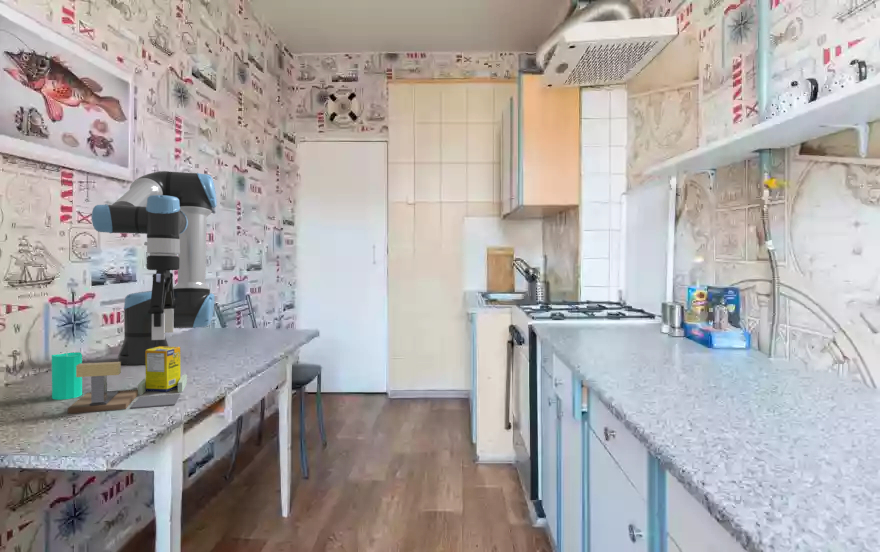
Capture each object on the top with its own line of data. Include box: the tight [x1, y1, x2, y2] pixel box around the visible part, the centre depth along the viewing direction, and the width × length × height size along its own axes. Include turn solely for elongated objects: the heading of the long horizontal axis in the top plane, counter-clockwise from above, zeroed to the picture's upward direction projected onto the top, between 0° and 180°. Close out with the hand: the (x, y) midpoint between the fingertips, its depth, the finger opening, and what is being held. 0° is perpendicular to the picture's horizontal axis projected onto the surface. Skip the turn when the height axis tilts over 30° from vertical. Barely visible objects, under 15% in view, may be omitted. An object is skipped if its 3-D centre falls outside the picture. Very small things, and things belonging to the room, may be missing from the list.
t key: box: [76, 361, 122, 403], centre depth 111 cm, size 2×8×9 cm, turn 110°
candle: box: [51, 351, 83, 401], centre depth 121 cm, size 6×6×12 cm
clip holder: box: [137, 374, 188, 396], centre depth 129 cm, size 9×10×2 cm
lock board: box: [67, 388, 139, 414], centre depth 116 cm, size 13×11×2 cm
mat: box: [130, 393, 181, 410], centre depth 118 cm, size 9×9×1 cm
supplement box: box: [145, 346, 182, 393], centre depth 129 cm, size 6×6×11 cm
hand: (163, 336), depth 128 cm, fingers open, 13 cm apart
